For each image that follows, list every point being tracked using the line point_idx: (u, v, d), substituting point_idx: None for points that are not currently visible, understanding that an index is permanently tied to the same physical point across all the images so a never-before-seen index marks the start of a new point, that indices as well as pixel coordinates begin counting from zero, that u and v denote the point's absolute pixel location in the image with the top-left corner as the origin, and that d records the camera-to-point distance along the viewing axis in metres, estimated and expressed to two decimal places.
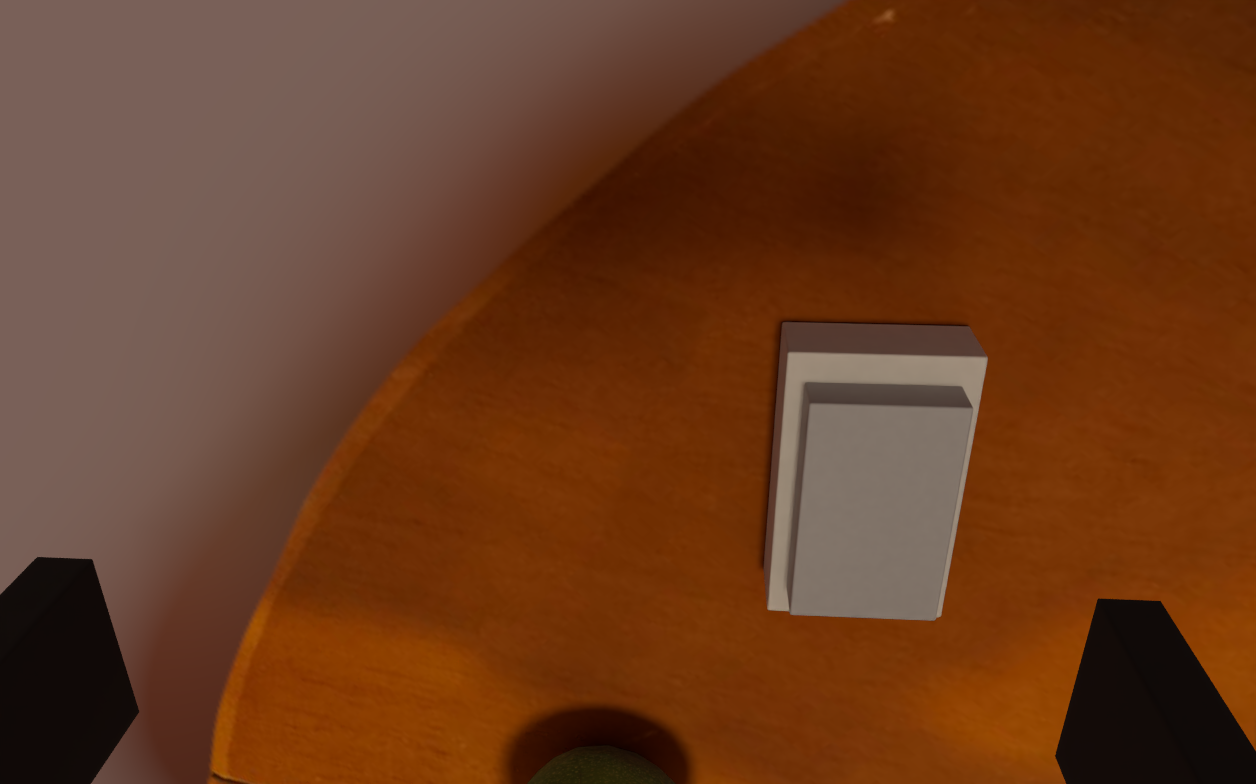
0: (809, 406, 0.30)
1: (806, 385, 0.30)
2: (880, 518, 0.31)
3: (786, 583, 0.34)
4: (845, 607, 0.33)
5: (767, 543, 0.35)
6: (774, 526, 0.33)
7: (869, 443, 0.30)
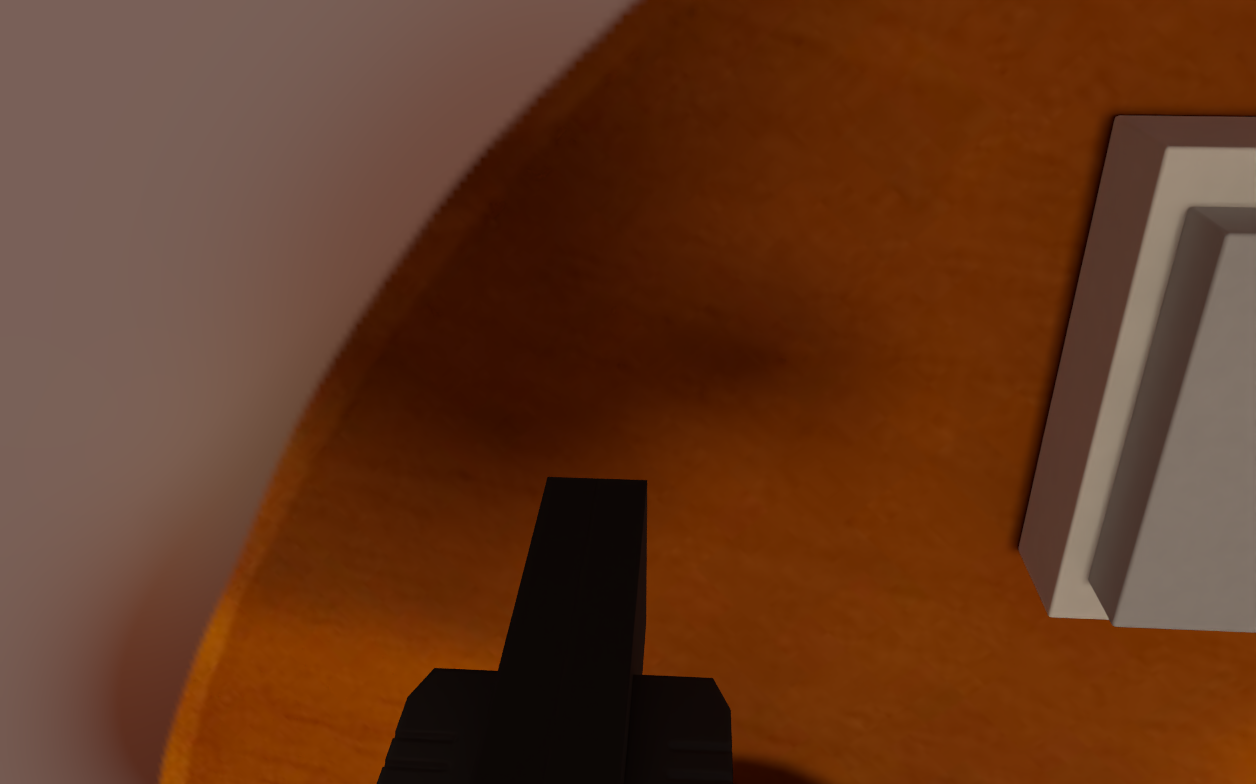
0: (1224, 240, 0.16)
1: (1195, 211, 0.17)
2: None
3: (1090, 572, 0.20)
4: (1213, 614, 0.19)
5: (1040, 507, 0.22)
6: (1084, 475, 0.19)
7: None
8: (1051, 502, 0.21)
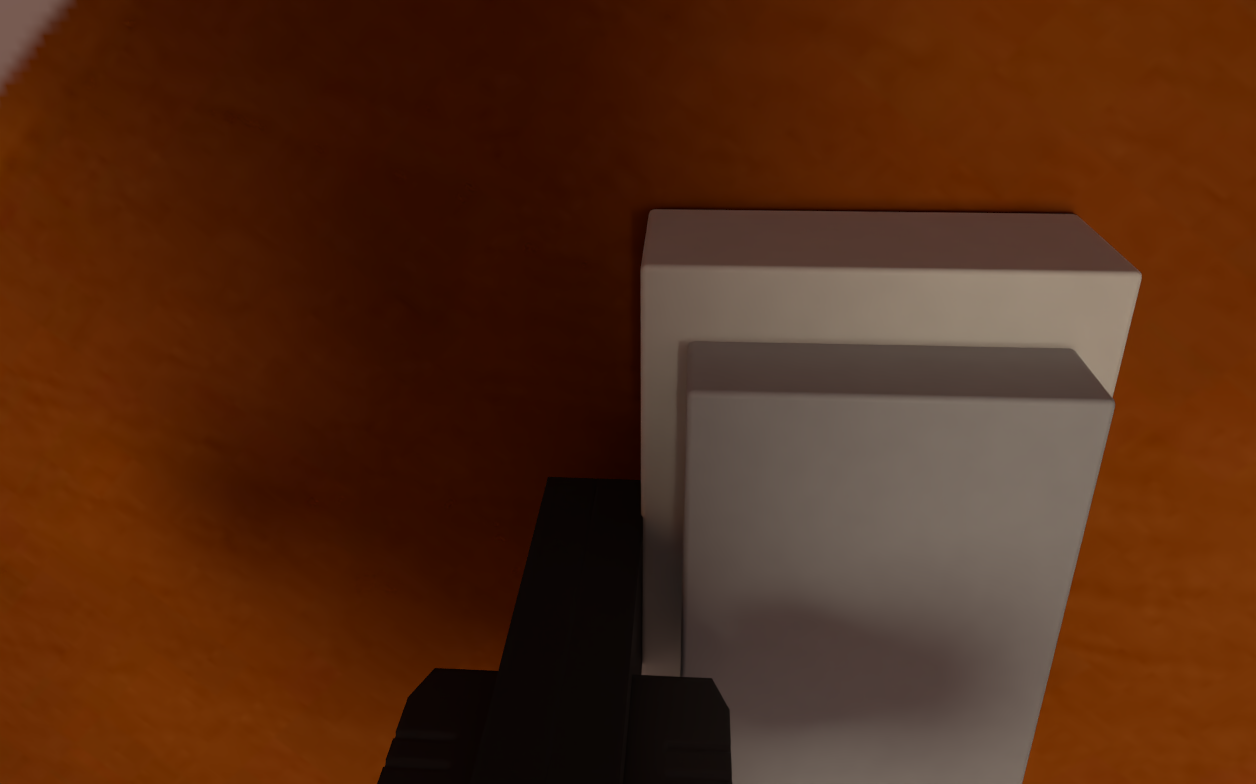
0: (688, 399, 0.11)
1: (689, 349, 0.12)
2: (874, 667, 0.13)
3: None
4: None
5: None
6: (643, 664, 0.15)
7: (843, 493, 0.12)
8: None
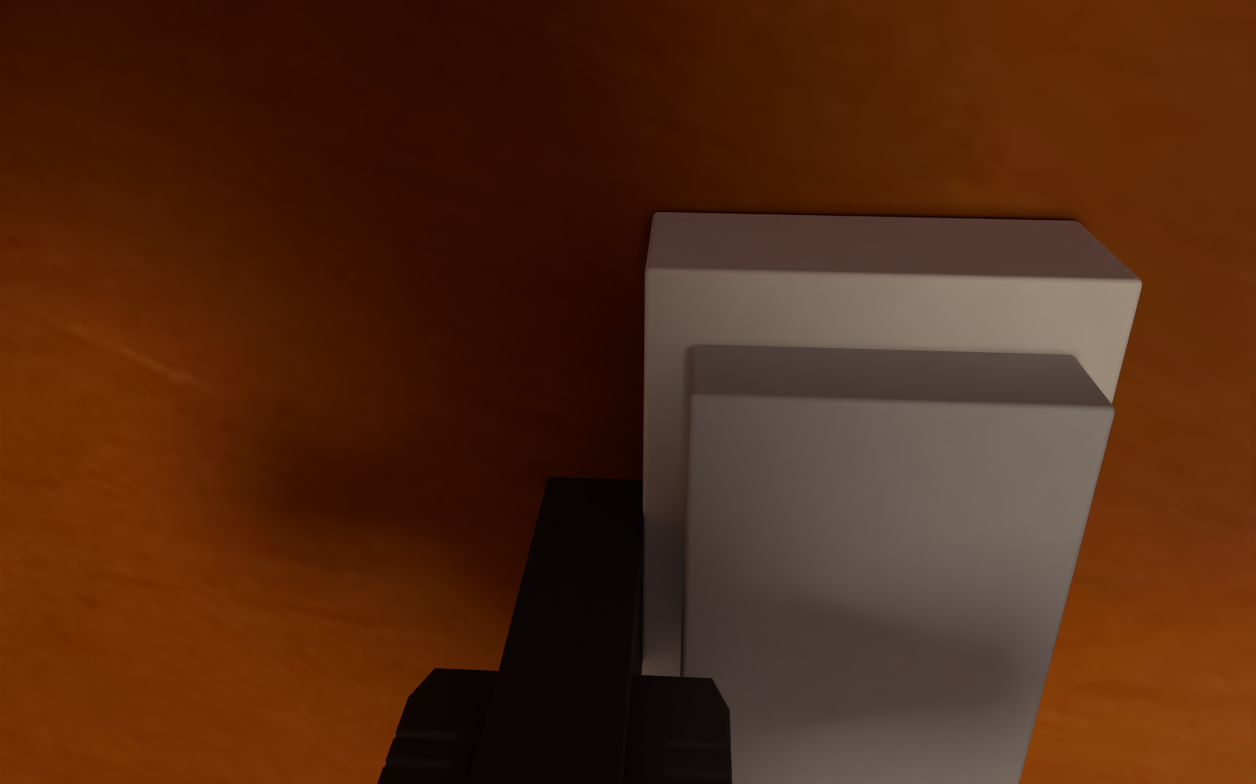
0: (691, 402, 0.12)
1: (693, 352, 0.12)
2: (873, 669, 0.13)
3: None
4: None
5: None
6: (643, 664, 0.15)
7: (845, 497, 0.12)
8: None
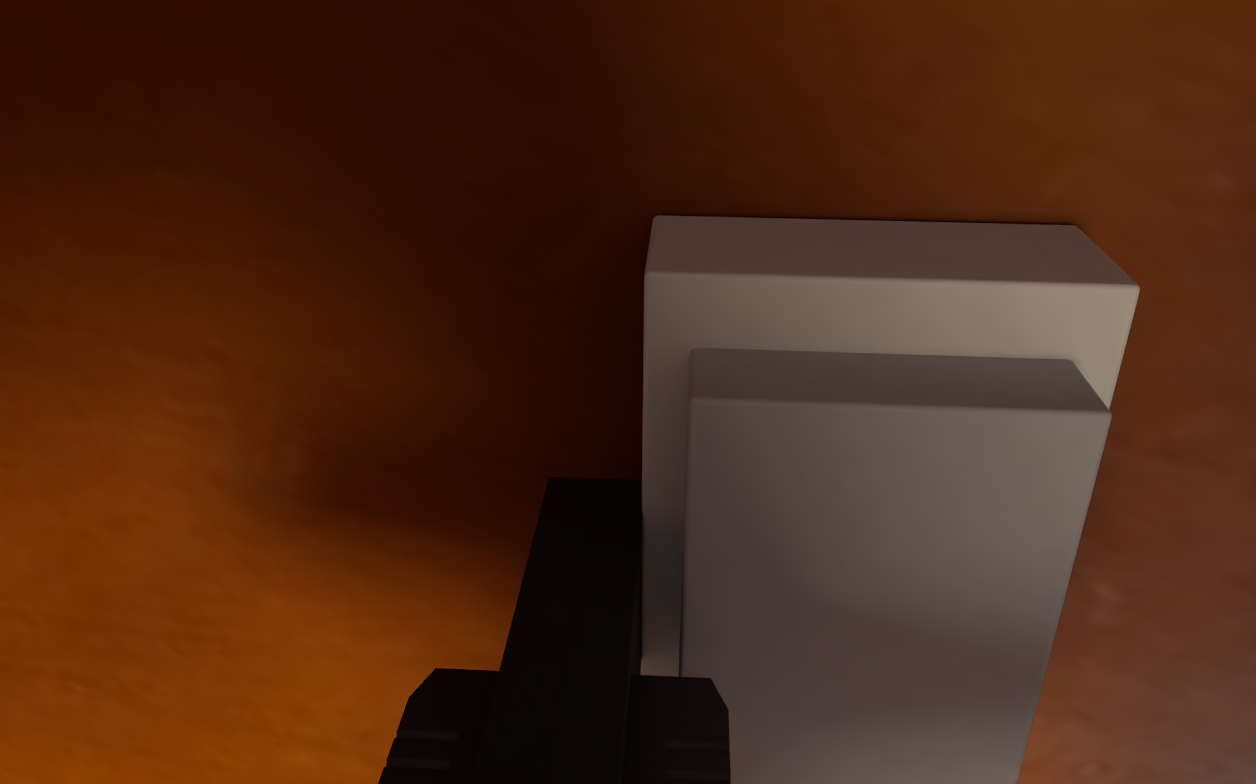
0: (690, 406, 0.12)
1: (692, 355, 0.13)
2: (870, 671, 0.13)
3: None
4: None
5: None
6: (641, 666, 0.15)
7: (842, 500, 0.12)
8: None
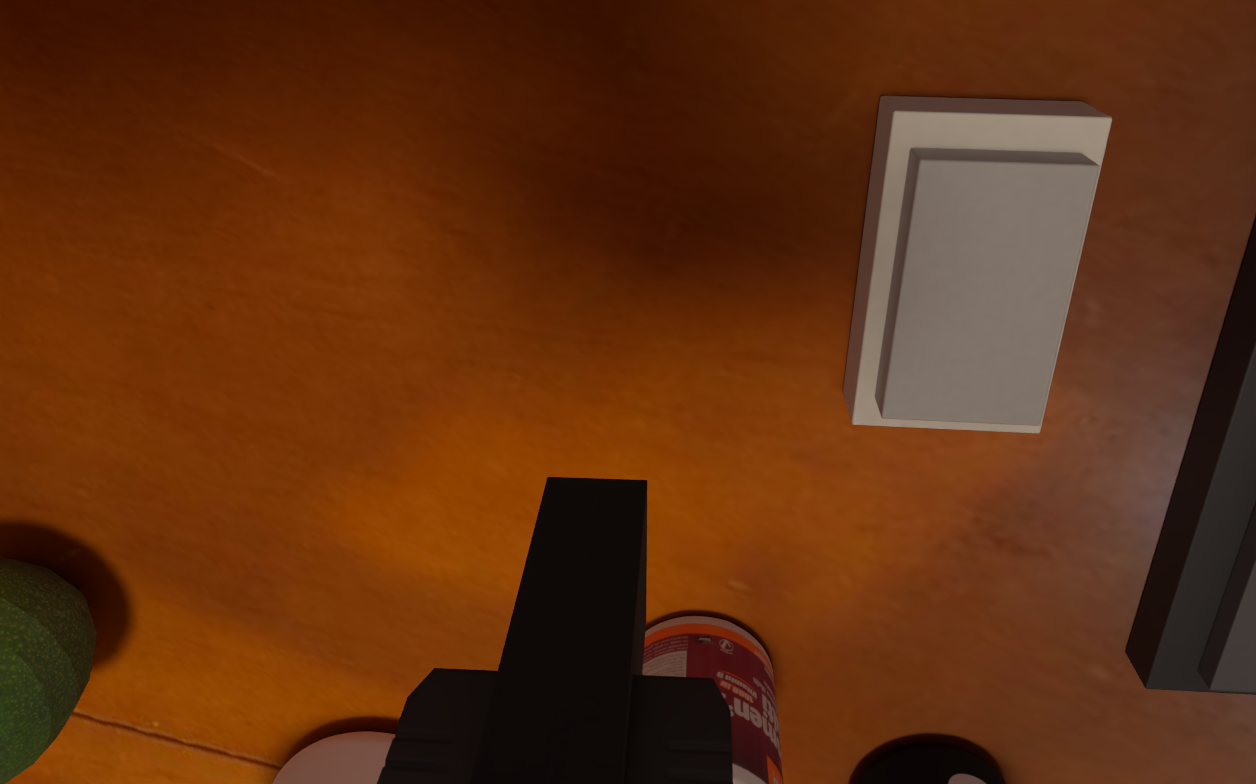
0: (919, 163, 0.27)
1: (912, 150, 0.28)
2: (988, 300, 0.29)
3: (875, 392, 0.32)
4: (942, 409, 0.30)
5: (851, 356, 0.33)
6: (865, 323, 0.31)
7: (982, 209, 0.27)
8: (854, 349, 0.32)
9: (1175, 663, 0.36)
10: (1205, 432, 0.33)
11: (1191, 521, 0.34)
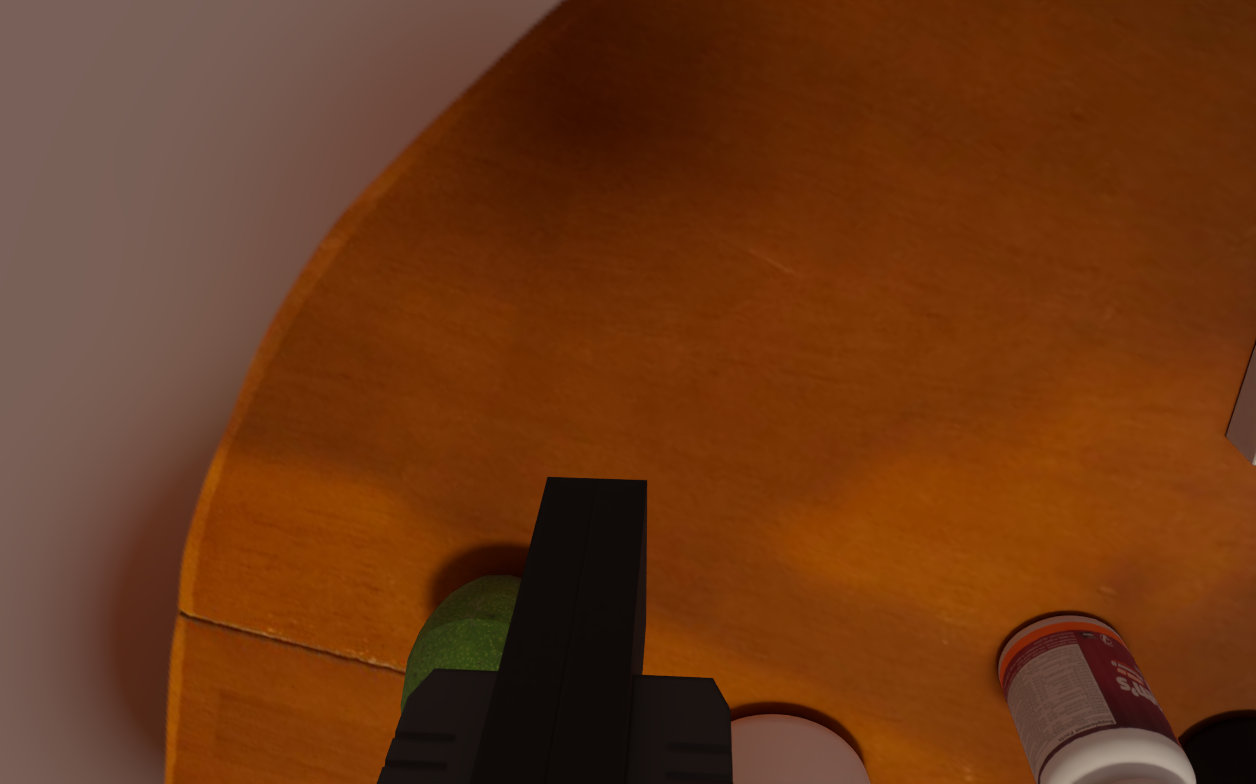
0: None
1: None
2: None
3: None
4: None
5: (1244, 410, 0.41)
6: None
7: None
8: (1253, 405, 0.41)
9: None
10: None
11: None
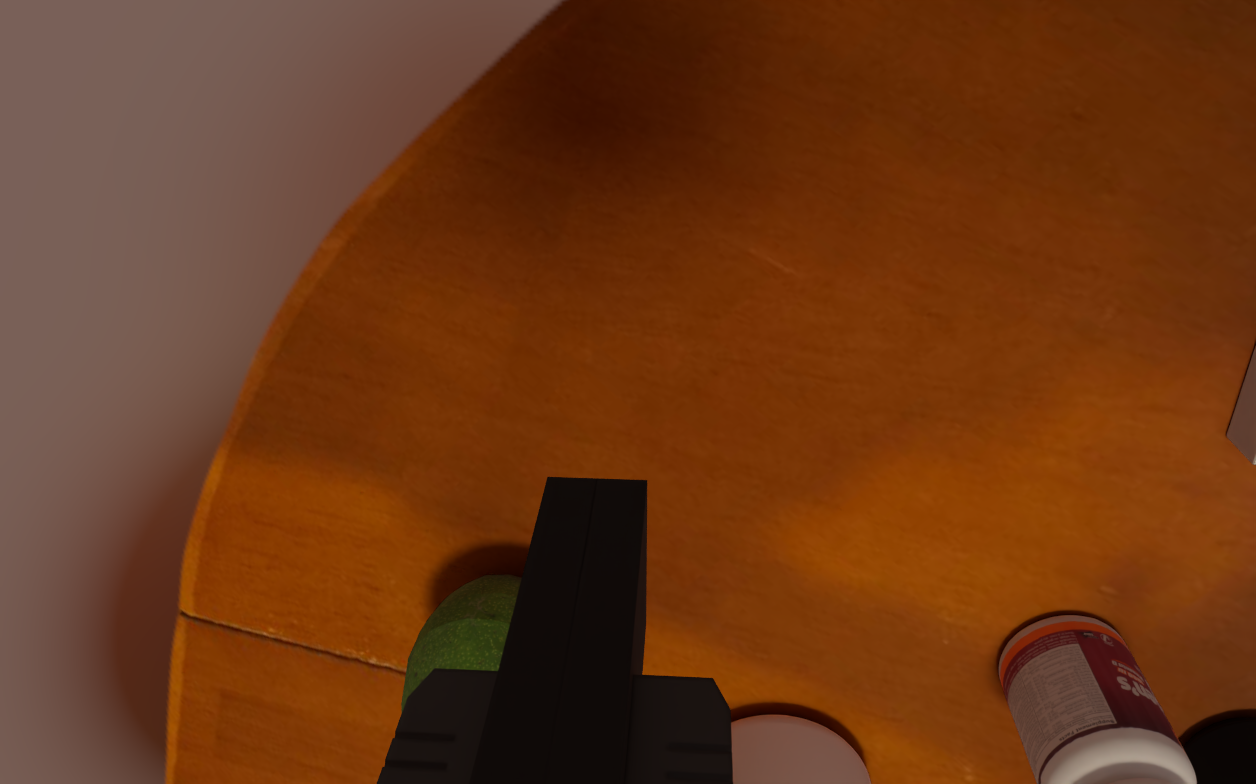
0: None
1: None
2: None
3: None
4: None
5: (1245, 410, 0.41)
6: None
7: None
8: (1254, 405, 0.41)
9: None
10: None
11: None
